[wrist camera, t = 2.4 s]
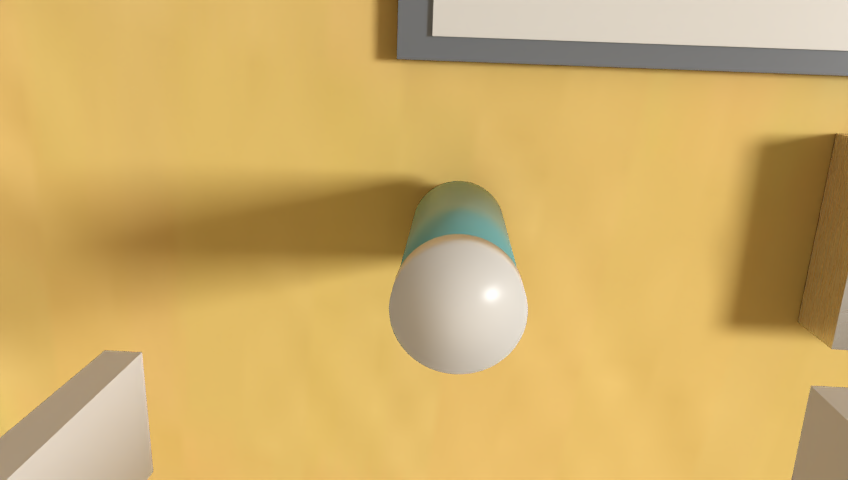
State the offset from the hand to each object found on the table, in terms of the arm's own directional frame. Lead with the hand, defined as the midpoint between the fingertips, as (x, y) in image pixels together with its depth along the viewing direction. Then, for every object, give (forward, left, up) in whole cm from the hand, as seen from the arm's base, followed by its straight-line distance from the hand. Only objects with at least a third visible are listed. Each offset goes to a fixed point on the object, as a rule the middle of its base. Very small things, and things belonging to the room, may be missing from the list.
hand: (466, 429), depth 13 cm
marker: (0, 0, -19) cm, 19 cm away
